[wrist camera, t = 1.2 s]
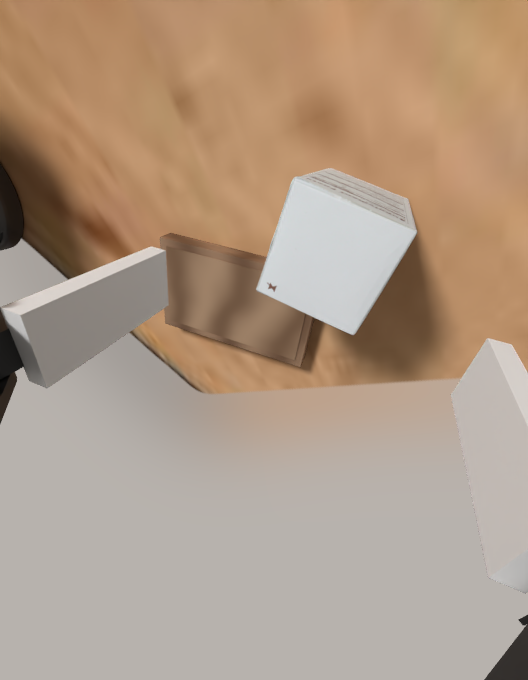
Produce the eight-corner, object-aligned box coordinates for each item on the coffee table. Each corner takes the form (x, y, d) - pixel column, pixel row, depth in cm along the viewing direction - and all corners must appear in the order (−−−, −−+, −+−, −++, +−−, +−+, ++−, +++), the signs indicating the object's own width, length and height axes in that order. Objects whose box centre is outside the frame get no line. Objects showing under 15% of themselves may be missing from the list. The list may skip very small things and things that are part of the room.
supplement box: (367, 275, 30) (352, 341, 20) (298, 243, 31) (250, 291, 21) (412, 198, 26) (422, 232, 16) (330, 163, 26) (290, 174, 16)
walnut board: (174, 316, 41) (164, 323, 40) (170, 232, 35) (159, 237, 33) (304, 357, 37) (299, 367, 36) (326, 272, 31) (322, 279, 30)
